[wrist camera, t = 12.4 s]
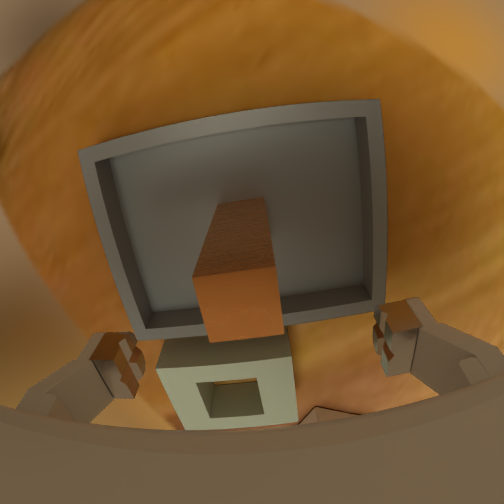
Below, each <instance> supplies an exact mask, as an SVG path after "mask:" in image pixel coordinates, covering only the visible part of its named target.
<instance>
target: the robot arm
mask: <svg viewBox="0 0 504 504" xmlns="http://www.w3.org/2000/svg"><path fill="white" fill-rule="evenodd" d="M374 318H375V320H376V322H377V323H376V324H375V325H374V326H373V343H374V347H375V350H376V353H377V354H378V355H380V356H381V365H382V367H383V370H384V372H385V375H386V377H389V376H394V375H399V374H404V373H408V372H411V374H412V375H414V376H415V377H416V378H418V379H419V380H420V381H422V382H423V383H424V384H426V385H427V386H429V387H430V388H431V389H433V390H434V391H435V392H437V393H438V394H439V396H435V397H432V398H429V399H425V400H421V401H418V402H414V403H411V404H407V405H403V406H399V407H395V408H391V409H386V410H382V411H378V412H373V413H368V414H363V415H358V416H353V417H347V418H342V419H336V420H329V421H323V422H316V423H308V424H300V425H291V426H281V427H270V428H258V429H241V430H211V431H186V430H155V429H140V428H127V427H116V426H107V425H99V424H92V423H90V422H91V421H92V420H93V419H94V418H95V417H96V416H97V415H98V414H99V413H100V412H101V411H102V410H103V409H105V408H106V406H108V405H109V404H110V403H111V402H112V401H113V400H114V399H113V398H120V399H121V398H122V399H134V398H135V396H136V393H137V390H138V388H139V383H138V380H139V379H140V378H141V377H143V375H144V372H145V359H144V355H143V353H142V351H141V350H140V349H139V348H137V347H136V344H137V339H136V337H135V335H134V334H133V333H132V332H98V333H94V334H93V335H92V337H91V338H90V340H89V341H88V343H87V344H86V346H85V348H84V349H83V351H82V352H81V354H80V355H79V357H78V359H77V360H72V361H71V362H69V363H68V364H66V365H65V366H63V367H62V368H60V369H59V370H57V371H55V372H54V373H52V374H51V375H49V376H48V377H46V378H45V379H43V380H42V381H40V382H38V383H37V384H35V385H34V386H32V387H31V388H29V389H28V390H27V392H26V393H25V395H24V397H23V398H22V400H21V401H20V403H19V404H18V406H17V407H16V409H14V408H10V407H6V406H2V405H0V504H504V355H503V354H502V352H501V351H500V350H499V349H498V347H496V346H494V345H491V344H489V343H487V342H485V341H482V340H480V339H478V338H475V337H473V336H471V335H469V334H466V333H464V332H462V331H459V330H457V329H455V328H453V327H450V326H448V325H446V324H443V323H439V324H438V323H437V322H436V320H435V319H434V317H433V316H432V315H431V313H430V312H429V311H428V309H427V308H426V306H425V305H424V304H423V302H422V301H421V300H420V298H418V297H414V298H409V299H405V300H402V301H397V302H392V303H386V304H381V305H376V306H375V309H374Z"/></svg>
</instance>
